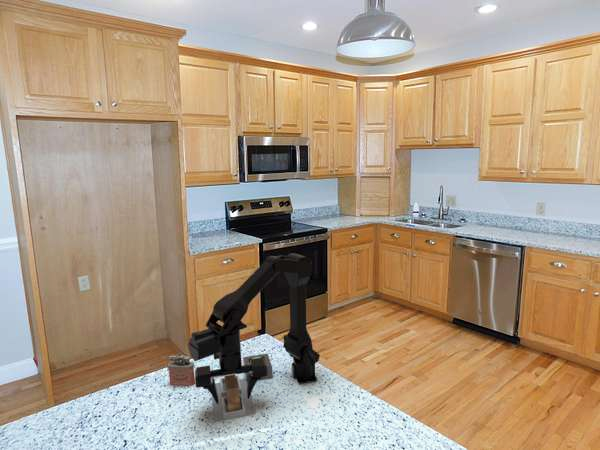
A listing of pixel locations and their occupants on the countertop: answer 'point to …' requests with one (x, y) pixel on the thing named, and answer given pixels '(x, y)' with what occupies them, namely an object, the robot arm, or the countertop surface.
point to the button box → (269, 367)
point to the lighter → (181, 371)
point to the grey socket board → (222, 408)
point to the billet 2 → (232, 394)
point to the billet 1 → (229, 378)
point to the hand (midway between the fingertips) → (233, 400)
